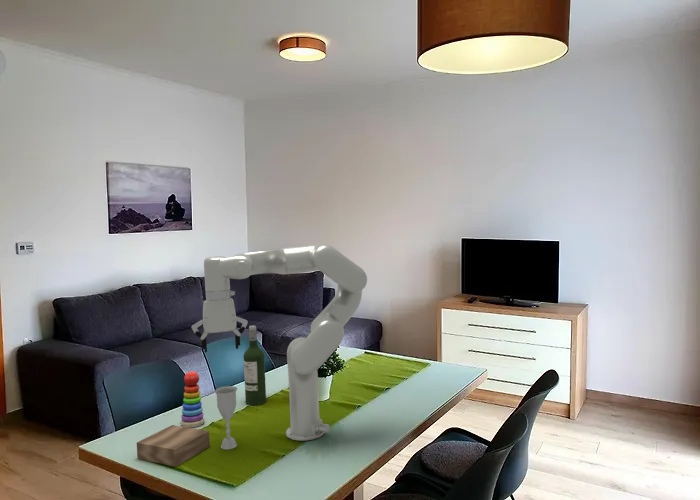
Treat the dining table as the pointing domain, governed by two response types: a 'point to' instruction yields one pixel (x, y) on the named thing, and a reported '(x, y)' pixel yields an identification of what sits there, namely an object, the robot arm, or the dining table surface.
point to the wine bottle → (254, 371)
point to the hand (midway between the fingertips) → (221, 349)
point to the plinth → (173, 445)
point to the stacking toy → (192, 402)
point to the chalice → (227, 411)
